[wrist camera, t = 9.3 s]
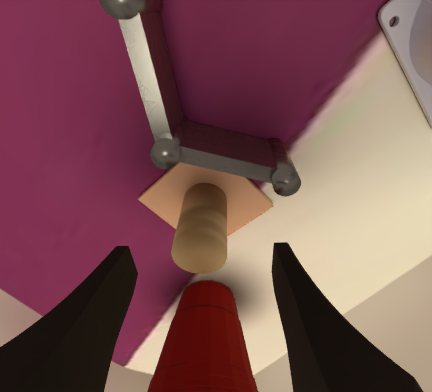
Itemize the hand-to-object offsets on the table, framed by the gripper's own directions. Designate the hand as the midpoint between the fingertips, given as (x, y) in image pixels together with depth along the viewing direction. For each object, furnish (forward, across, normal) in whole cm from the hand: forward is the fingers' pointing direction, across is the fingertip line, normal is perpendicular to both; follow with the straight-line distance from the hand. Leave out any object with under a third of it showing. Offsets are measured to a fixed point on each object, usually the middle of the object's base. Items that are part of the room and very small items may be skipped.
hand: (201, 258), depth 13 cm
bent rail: (+9, 0, -5) cm, 11 cm away
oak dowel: (+9, +1, +3) cm, 9 cm away
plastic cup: (+10, +1, +16) cm, 19 cm away
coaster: (+9, +1, +3) cm, 10 cm away
